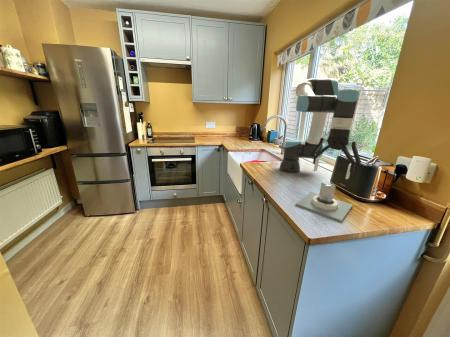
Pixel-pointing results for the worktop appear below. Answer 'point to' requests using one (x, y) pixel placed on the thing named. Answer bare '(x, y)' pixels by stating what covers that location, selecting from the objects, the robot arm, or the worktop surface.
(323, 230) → the worktop surface
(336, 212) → the duct flange
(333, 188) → the duct collar
